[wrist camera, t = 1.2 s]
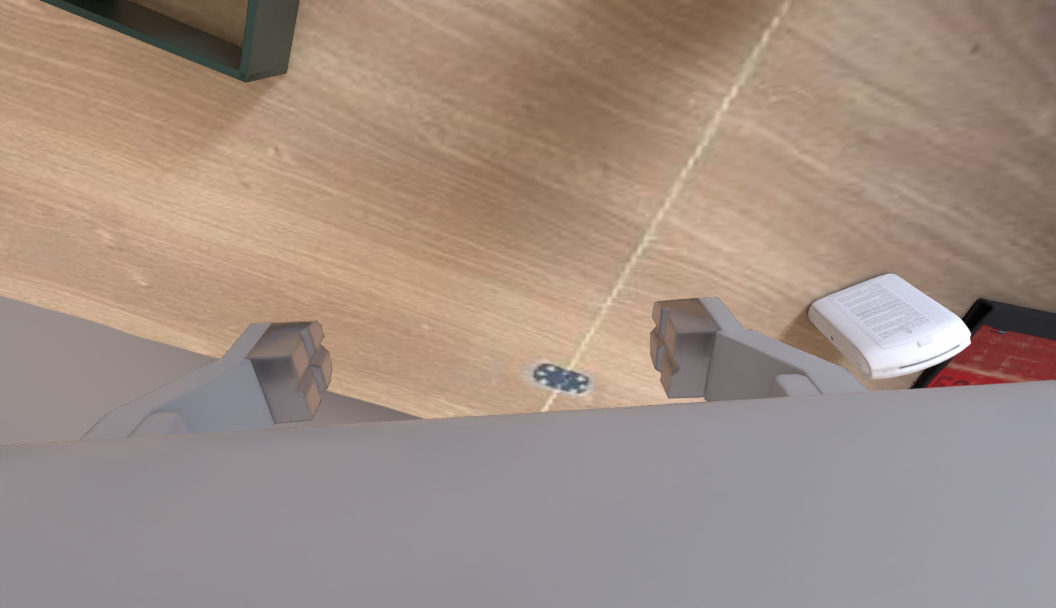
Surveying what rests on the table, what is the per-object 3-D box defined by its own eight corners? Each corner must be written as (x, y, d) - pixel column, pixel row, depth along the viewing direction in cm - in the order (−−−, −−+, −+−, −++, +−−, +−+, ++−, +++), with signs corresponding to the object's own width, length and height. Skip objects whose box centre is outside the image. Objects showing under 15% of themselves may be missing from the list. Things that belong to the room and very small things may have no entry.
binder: (996, 306, 57) (1142, 336, 60) (979, 295, 59) (1122, 325, 62) (909, 408, 65) (1042, 430, 68) (898, 396, 67) (1027, 418, 70)
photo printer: (809, 329, 60) (875, 396, 50) (803, 302, 58) (871, 365, 48) (897, 296, 59) (986, 358, 48) (894, 266, 57) (985, 323, 46)
